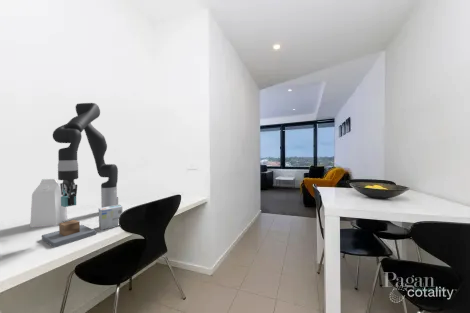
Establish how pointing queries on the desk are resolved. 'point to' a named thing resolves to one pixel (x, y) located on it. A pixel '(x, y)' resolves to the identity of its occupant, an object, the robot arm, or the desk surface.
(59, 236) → the slate gray board
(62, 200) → the teal block
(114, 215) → the light bulb box
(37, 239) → the desk surface
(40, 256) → the desk surface
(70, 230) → the walnut block
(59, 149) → the robot arm
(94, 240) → the desk surface
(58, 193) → the milk
